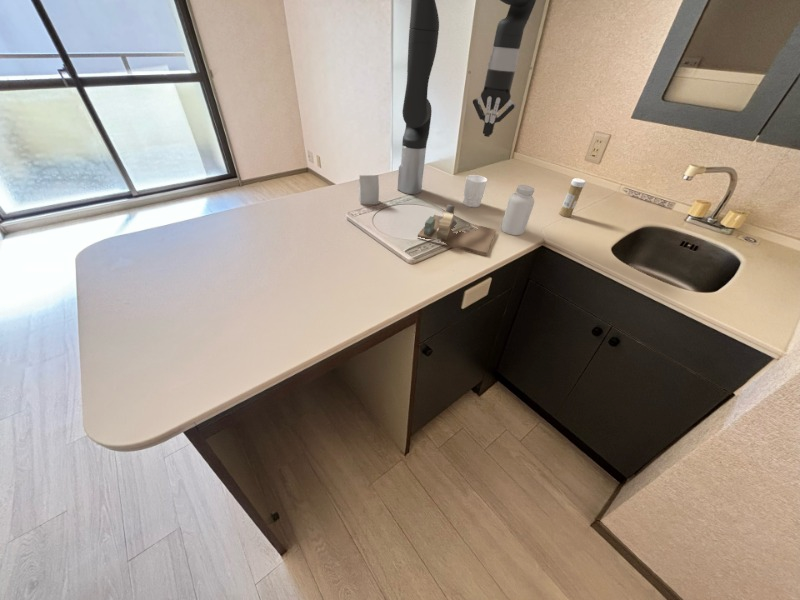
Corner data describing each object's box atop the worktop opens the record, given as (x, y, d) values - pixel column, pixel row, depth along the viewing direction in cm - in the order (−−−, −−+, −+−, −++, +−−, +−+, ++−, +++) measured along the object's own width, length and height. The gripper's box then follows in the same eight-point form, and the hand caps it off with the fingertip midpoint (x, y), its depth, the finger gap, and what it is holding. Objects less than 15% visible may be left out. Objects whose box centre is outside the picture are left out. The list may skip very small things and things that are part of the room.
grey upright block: (378, 203, 122) (379, 177, 115) (360, 204, 120) (360, 177, 114) (376, 200, 124) (377, 173, 118) (359, 200, 123) (358, 173, 117)
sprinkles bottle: (573, 217, 125) (588, 182, 116) (562, 217, 124) (577, 182, 115) (567, 212, 128) (581, 177, 120) (556, 212, 127) (570, 177, 119)
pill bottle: (525, 228, 114) (540, 186, 104) (522, 238, 108) (537, 194, 99) (502, 223, 116) (515, 181, 107) (498, 232, 110) (511, 188, 101)
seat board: (417, 238, 103) (419, 223, 100) (433, 217, 116) (435, 203, 112) (485, 256, 97) (489, 240, 94) (495, 232, 110) (499, 218, 107)
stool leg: (444, 218, 112) (446, 204, 108) (452, 220, 111) (455, 205, 108) (436, 238, 100) (439, 222, 97) (446, 240, 100) (449, 224, 97)
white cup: (482, 208, 125) (489, 183, 119) (462, 207, 125) (467, 181, 118) (479, 200, 131) (485, 175, 125) (460, 199, 131) (465, 174, 124)
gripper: (527, 70, 91) (509, 137, 102) (481, 65, 95) (469, 130, 106) (524, 71, 86) (506, 142, 97) (475, 66, 89) (463, 135, 100)
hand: (486, 136), depth 101 cm, fingers closed
